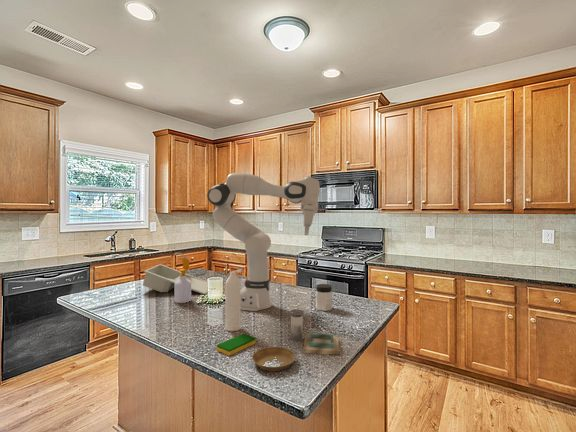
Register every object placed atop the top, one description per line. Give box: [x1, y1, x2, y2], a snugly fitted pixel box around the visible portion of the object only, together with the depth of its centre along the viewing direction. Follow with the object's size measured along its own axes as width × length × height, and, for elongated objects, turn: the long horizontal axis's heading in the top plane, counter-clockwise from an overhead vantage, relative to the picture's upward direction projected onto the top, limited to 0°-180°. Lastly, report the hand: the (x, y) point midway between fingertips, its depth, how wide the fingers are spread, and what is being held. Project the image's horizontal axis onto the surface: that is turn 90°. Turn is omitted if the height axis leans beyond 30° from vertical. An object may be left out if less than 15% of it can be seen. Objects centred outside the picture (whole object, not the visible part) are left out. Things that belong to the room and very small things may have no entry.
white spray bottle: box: [224, 268, 243, 332], centre depth 137 cm, size 9×6×25 cm
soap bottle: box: [173, 257, 192, 304], centre depth 176 cm, size 9×9×25 cm
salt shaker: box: [289, 308, 304, 342], centre depth 126 cm, size 5×5×11 cm
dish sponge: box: [216, 333, 256, 356], centre depth 119 cm, size 7×14×2 cm, turn 142°
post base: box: [302, 332, 341, 355], centre depth 119 cm, size 13×13×3 cm
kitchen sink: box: [142, 252, 208, 295], centre depth 202 cm, size 24×40×25 cm, turn 90°
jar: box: [315, 283, 333, 312], centre depth 165 cm, size 9×8×12 cm
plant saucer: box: [251, 346, 297, 372], centre depth 106 cm, size 15×15×3 cm
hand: (306, 234), depth 161 cm, fingers open, 8 cm apart
